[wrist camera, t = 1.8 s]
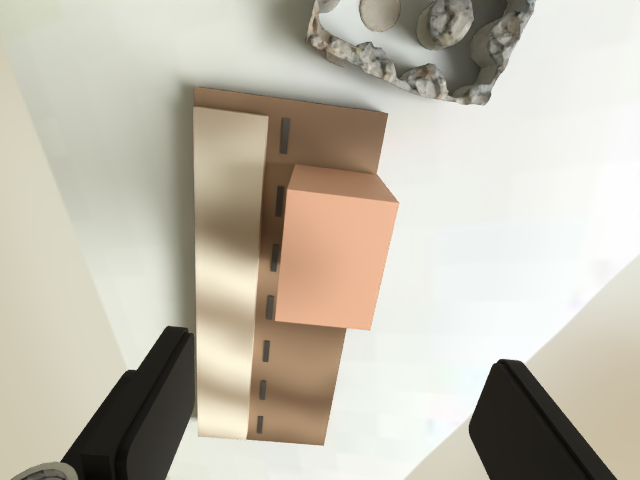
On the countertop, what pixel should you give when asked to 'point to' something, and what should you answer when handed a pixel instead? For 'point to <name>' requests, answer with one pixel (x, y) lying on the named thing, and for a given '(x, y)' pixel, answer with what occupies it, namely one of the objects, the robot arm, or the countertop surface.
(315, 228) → the peach rectangular block
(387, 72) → the egg carton
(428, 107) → the countertop surface
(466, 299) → the countertop surface
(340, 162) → the board
